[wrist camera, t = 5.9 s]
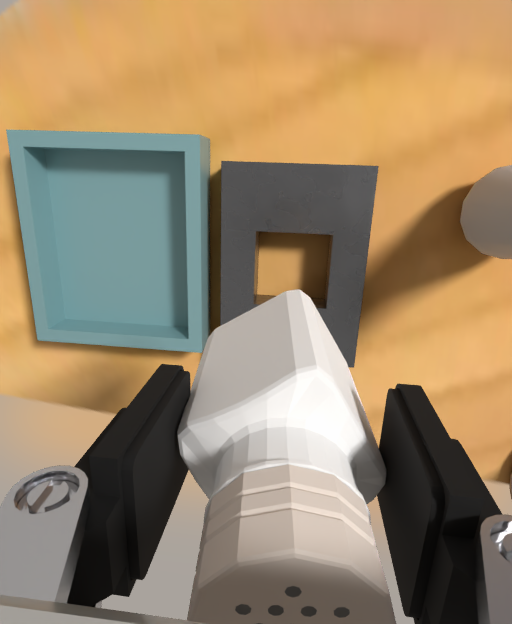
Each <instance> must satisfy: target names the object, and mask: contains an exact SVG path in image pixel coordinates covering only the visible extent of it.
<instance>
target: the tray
mask: <svg viewBox="0 0 512 624" xmlns="http://www.w3.org/2000/svg"><path fill="white" fill-rule="evenodd" d="M6 131H7V138H8V144H9V151H10V158H11V164H12V171H13V178H14V185H15V191H16V198H17V205H18V212H19V218H20V225H21V232H22V239H23V245H24V252H25V259H26V265H27V272H28V279H29V286H30V292H31V299H32V306H33V313H34V319H35V326H36V333H37V339H38V340H40V341H53V342H66V343H79V344H93V345H106V346H119V347H133V348H146V349H159V350H172V351H186V352H199V353H202V352H203V350H204V348H205V345H206V342H207V339H208V337H209V336H210V139H209V138H206V137H204V136H202V135H190V134H152V133H114V132H75V131H37V130H6Z"/></svg>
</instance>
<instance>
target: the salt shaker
mask: <svg viewBox="0 0 512 624" xmlns="http://www.w3.org/2000/svg"><path fill="white" fill-rule="evenodd" d="M460 223H461V226H462V229H463V232H464V235H465V238H466V240H467V241H468V242H470V243H471V244H472V245H473V246H474V247H475V248H476V249H477V250H479V251H480V252H481V253H482V254H485V255H489V256H493V257H497V258H501V259H512V165H510V166H505V167H500V168H497V169H494V170H493V171H491V172H490V173H488V174H487V175H485V176H484V177H483V178H481V179H480V180H478V181H477V182H475V184H474V185H473V187H472V188H471V190H470V191H469V193H468V194H467V196H466V198H465V199H464V201H463V205H462V211H461V217H460Z"/></svg>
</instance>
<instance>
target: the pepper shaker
mask: <svg viewBox="0 0 512 624" xmlns="http://www.w3.org/2000/svg"><path fill="white" fill-rule="evenodd" d="M177 434H178V442H179V449H180V455H181V457H182V459H183V460H184V462H185V464H186V465H187V467H188V469H189V470H190V472H191V474H192V475H193V477H194V479H195V480H196V482H197V483H198V484H199V486H200V487H201V489H202V490H203V492H204V493H205V494H206V496H207V497H208V498H209V502H208V504H207V506H206V509H205V517H204V526H203V531H202V537H201V543H200V552H199V555H198V561H197V566H196V575H195V578H194V583H193V589H192V594H191V600H190V606H189V612H188V617H187V621H194V622H201V623H207V624H396V621H395V616H394V612H393V608H392V603H391V598H390V594H389V589H388V586H387V582H386V579H385V575H384V571H383V568H382V564H381V561H380V557H379V553H378V549H377V547H376V542H375V539H374V535H373V531H372V528H371V522H370V512H369V509H368V507H367V505H366V504H368V503H369V502H371V501H372V500H373V499H374V498H375V497H376V496H377V494H378V493H379V492H380V490H381V489H382V488H383V486H384V485H385V481H386V467H385V464H384V461H383V459H382V456H381V453H380V451H379V448H378V445H377V443H376V440H375V437H374V435H373V432H372V429H371V427H370V424H369V421H368V419H367V416H366V413H365V411H364V408H363V405H362V403H361V400H360V397H359V394H358V392H357V389H356V386H355V384H354V381H353V378H352V376H351V373H350V370H349V368H348V365H347V362H346V360H345V359H344V357H343V355H342V353H341V351H340V350H339V348H338V346H337V344H336V343H335V341H334V339H333V337H332V335H331V334H330V332H329V330H328V328H327V327H326V325H325V323H324V321H323V319H322V318H321V316H320V314H319V312H318V310H317V309H316V307H315V305H314V303H313V302H312V300H311V298H310V297H309V296H308V295H306V294H305V293H304V292H302V291H301V290H299V289H297V290H291V291H285V292H283V293H281V294H280V295H278V296H276V297H274V298H272V299H270V300H268V301H266V302H265V303H263V304H261V305H259V306H257V307H255V308H253V309H251V310H250V311H248V312H246V313H244V314H242V315H240V316H238V317H236V318H235V319H233V320H231V321H229V322H227V323H225V324H223V325H221V326H220V327H218V328H216V329H215V330H214V331H213V332H212V334H211V335H210V336H209V337H208V339H207V342H206V345H205V348H204V351H203V354H202V357H201V360H200V364H199V367H198V370H197V373H196V376H195V379H194V382H193V385H192V388H191V391H190V397H189V399H188V402H187V404H186V407H185V409H184V412H183V415H182V419H181V422H180V425H179V428H178V431H177Z"/></svg>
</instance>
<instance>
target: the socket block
mask: <svg viewBox="0 0 512 624" xmlns="http://www.w3.org/2000/svg"><path fill="white" fill-rule="evenodd" d="M377 173H378V166H360V165H329V164H298V163H266V162H235V161H222V165H221V325H223V324H225V323H227V322H229V321H231V320H233V319H235V318H236V317H238V316H240V315H242V314H244V313H246V312H248V311H250V310H251V309H253V308H255V307H257V306H259V305H261V304H263V303H265V302H266V301H268V300H270V299H272V298H274V297H276V296H270V295H257V284H258V256H259V231H263V232H284V233H305V234H326V235H330V243H329V254H328V265H327V277H326V288H325V299H319V298H311V300H312V302H313V303H314V305H315V307H316V309H317V310H318V312H319V314H320V316H321V318H322V319H323V321H324V323H325V325H326V327H327V328H328V330H329V332H330V334H331V335H332V337H333V339H334V341H335V343H336V344H337V346H338V348H339V350H340V351H341V353H342V355H343V357H344V359H345V360H346V362H347V365H348V367H354V363H355V355H356V346H357V338H358V330H359V322H360V313H361V305H362V297H363V289H364V280H365V272H366V264H367V256H368V248H369V239H370V231H371V223H372V215H373V206H374V198H375V190H376V182H377Z"/></svg>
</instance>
